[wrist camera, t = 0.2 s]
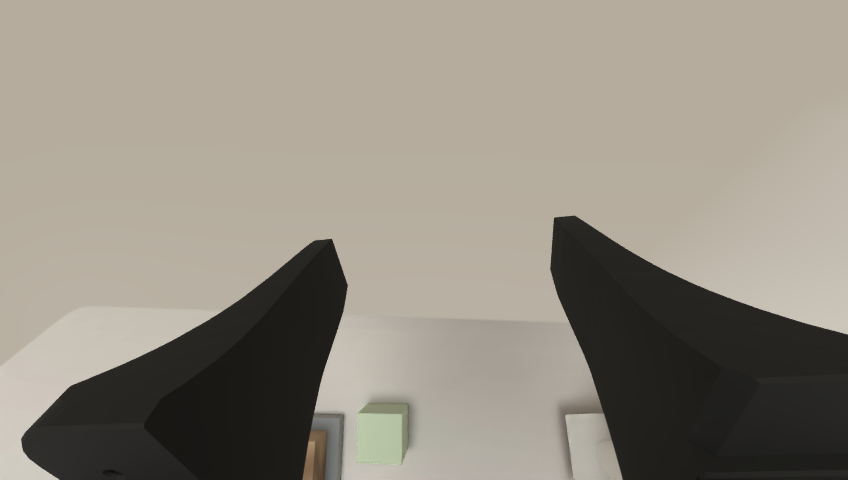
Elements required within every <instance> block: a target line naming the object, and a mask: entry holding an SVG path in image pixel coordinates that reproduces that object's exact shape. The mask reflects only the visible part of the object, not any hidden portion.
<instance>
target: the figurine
mask: <svg viewBox="0 0 848 480" xmlns="http://www.w3.org/2000/svg"><path fill="white" fill-rule="evenodd" d="M565 418H566V425H567V433H568V440H569V448H570V455H571V463H572V470H573V477H574V480H623V479H622V475H621V471H620V468H619V464H618V461H617V457H616V453H615V450H614V446H613V443H612V439H611V436H610V432H609V429H608V426H607V422H606V419H605V416H604V413H593V414H567V415H565Z"/></svg>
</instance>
